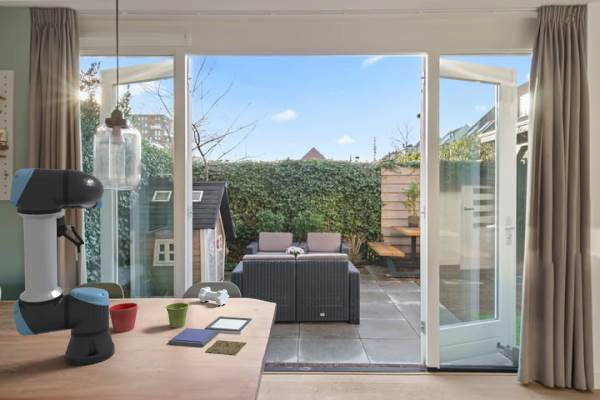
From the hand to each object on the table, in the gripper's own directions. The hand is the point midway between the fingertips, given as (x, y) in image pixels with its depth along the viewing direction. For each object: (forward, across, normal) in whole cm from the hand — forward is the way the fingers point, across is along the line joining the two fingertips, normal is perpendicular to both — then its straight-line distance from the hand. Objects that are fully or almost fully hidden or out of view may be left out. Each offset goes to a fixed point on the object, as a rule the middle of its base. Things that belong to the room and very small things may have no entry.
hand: (59, 262), depth 166 cm
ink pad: (+18, -41, +58) cm, 73 cm away
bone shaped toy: (+29, -65, +17) cm, 73 cm away
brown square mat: (+15, -48, +73) cm, 89 cm away
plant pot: (+22, -40, +40) cm, 60 cm away
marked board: (+20, -58, +53) cm, 81 cm away
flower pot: (+22, -20, +32) cm, 43 cm away
